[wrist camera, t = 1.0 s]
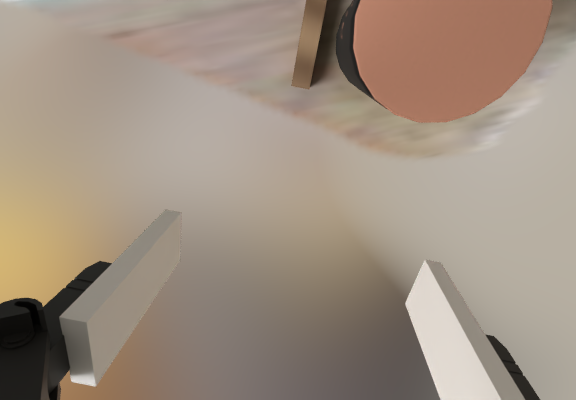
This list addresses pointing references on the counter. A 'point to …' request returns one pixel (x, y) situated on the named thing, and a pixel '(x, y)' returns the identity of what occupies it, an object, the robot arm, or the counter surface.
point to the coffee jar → (439, 52)
